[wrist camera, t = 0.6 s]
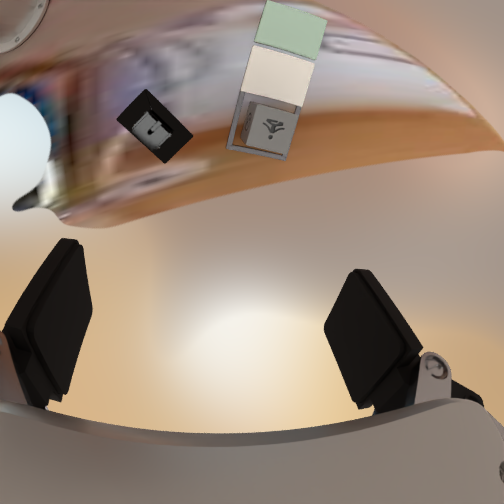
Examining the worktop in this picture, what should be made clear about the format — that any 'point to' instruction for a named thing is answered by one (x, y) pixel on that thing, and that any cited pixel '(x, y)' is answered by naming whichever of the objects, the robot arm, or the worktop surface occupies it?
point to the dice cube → (268, 128)
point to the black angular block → (154, 126)
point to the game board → (280, 62)
